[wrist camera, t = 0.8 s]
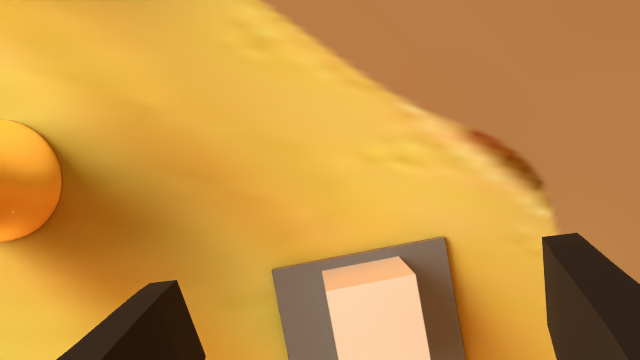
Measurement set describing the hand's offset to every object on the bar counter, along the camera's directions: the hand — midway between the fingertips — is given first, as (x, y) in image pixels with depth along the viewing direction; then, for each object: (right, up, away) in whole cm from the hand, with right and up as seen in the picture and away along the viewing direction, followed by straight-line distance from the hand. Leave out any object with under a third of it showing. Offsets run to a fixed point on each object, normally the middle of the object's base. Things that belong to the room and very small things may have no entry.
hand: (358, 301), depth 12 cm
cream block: (+2, -4, +19) cm, 20 cm away
